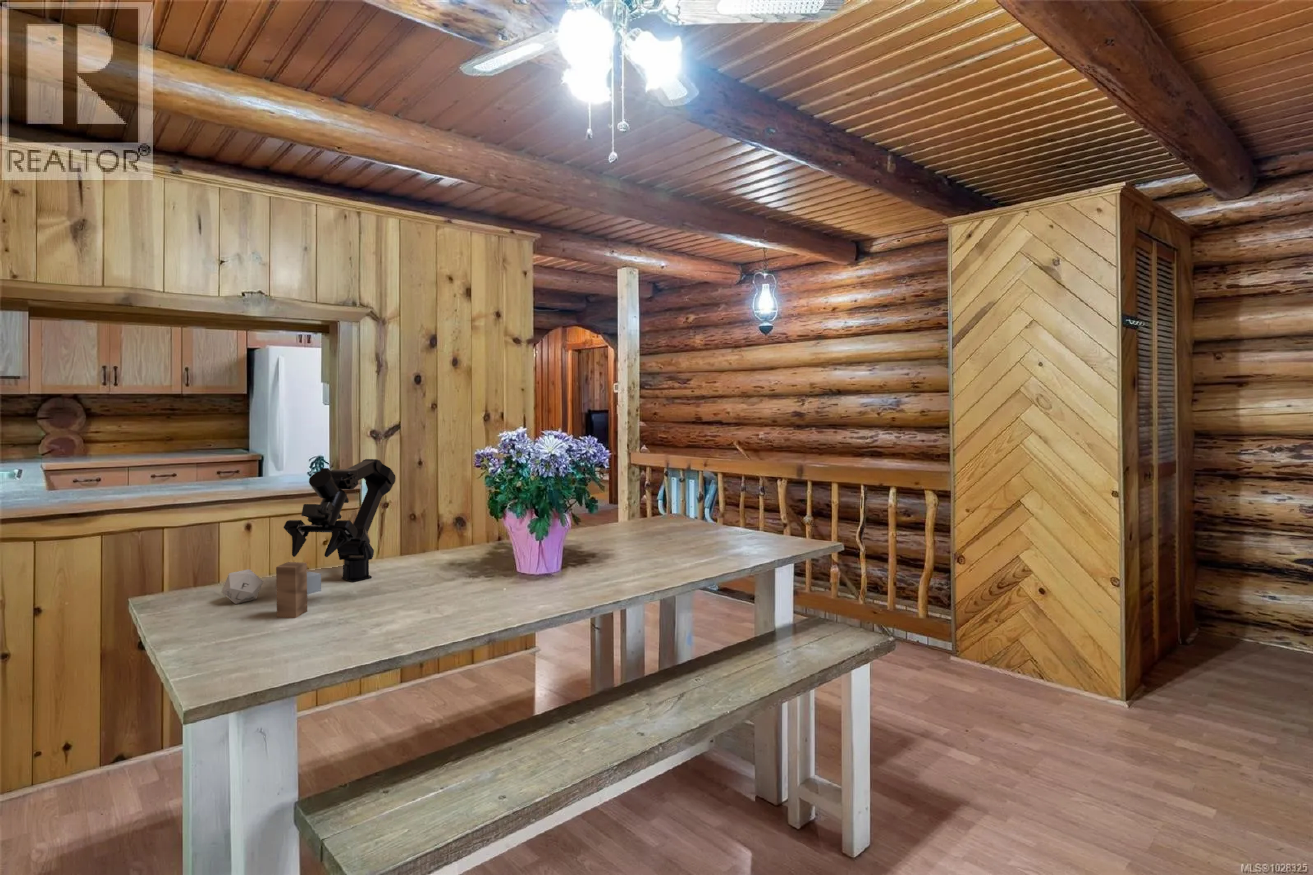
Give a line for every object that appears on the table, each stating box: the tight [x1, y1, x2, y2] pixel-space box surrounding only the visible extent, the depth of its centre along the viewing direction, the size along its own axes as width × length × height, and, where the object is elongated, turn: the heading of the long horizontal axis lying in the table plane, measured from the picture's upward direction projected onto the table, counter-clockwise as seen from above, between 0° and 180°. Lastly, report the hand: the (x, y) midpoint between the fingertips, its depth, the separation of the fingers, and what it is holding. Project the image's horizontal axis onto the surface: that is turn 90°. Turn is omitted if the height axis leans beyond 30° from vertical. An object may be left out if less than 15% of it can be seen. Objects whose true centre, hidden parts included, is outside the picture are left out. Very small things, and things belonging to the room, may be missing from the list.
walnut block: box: [275, 561, 308, 619], centre depth 171 cm, size 5×5×13 cm
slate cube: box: [307, 571, 322, 596], centre depth 191 cm, size 5×5×5 cm
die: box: [221, 568, 264, 605], centre depth 182 cm, size 8×9×10 cm
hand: (309, 556), depth 179 cm, fingers open, 9 cm apart
